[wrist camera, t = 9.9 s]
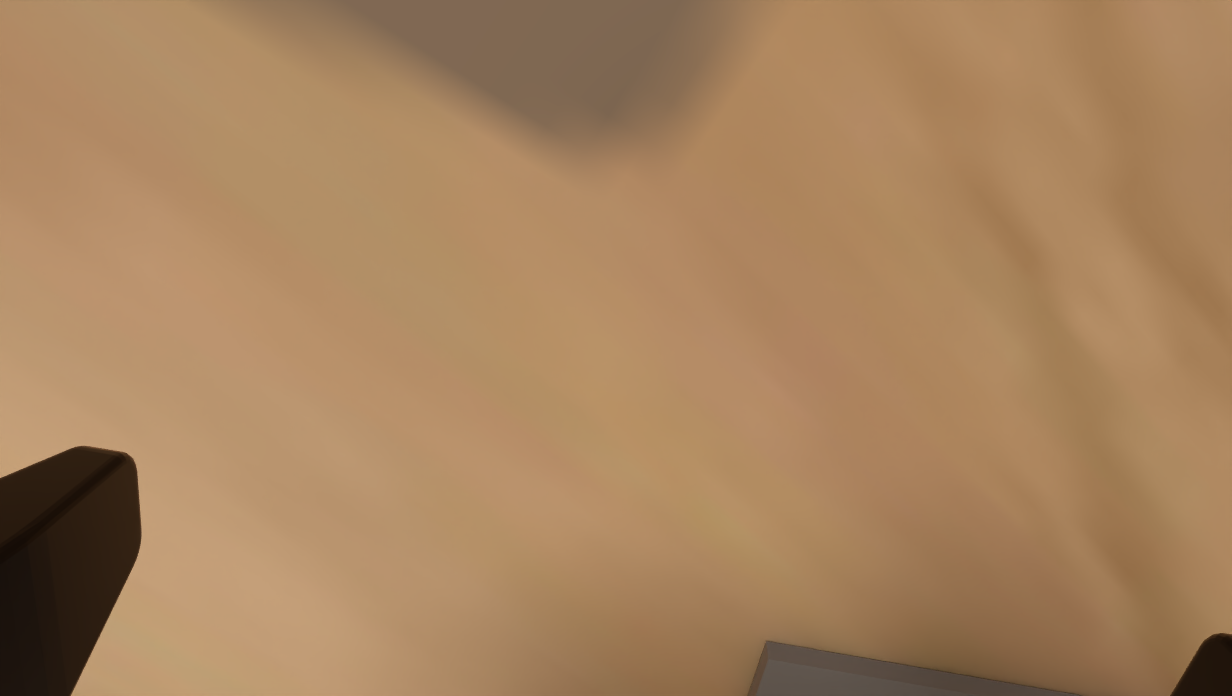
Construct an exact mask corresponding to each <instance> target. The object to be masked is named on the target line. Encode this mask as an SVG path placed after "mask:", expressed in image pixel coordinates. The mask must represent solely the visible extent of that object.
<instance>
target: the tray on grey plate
mask: <svg viewBox="0 0 1232 696" xmlns="http://www.w3.org/2000/svg"><path fill="white" fill-rule="evenodd" d="M748 696H1080V695H1075V694H1069V693H1063V692H1057V691H1052V690H1046V689H1040V688H1034V687H1029V686H1023V685H1017V684H1011V683H1005V682H1000V681H994V680H988V679H982V678H977V677H971V676H965V675H959V674H953V673H948V672H942V671H936V670H930V669H925V668H919V667H913V666H907V665H901V664H896V663H890V662H884V661H878V660H873V659H867V658H861V657H855V656H850V655H844V654H838V653H832V652H826V651H821V650H815V649H809V648H803V647H798V646H792V645H786V644H780V643H774V642H769V641H766V643H765V646H764V649H763V652H762V655H761V658H760V661H759V664H758V667H757V670H756V673H755V676H754V679H753V682H752V684H751V687H750V690H749V693H748Z"/></svg>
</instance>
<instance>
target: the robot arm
mask: <svg viewBox="0 0 1232 696" xmlns="http://www.w3.org/2000/svg"><path fill="white" fill-rule="evenodd" d="M140 544H141V517H140V504H139V490H138V476H137V468H136V464H135V462H134V460H133V458H132V457H131V456H130V455H128V454H127V453H124V452H120V451H114V450H108V449H102V448H96V447H90V446H78V447H74V448H71V449H69V450H66V451H64V452H62V453H59V454H57V455H54V456H52V457H50V458H47V459H45V460H42V461H40V462H38V463H35V464H33V465H31V466H28V467H26V468H23V469H21V470H19V471H16V472H14V473H11V474H9V475H7V476H4V477H2V478H0V696H71V694H72V692H73V690H74V688H75V686H76V684H77V682H78V680H79V678H80V676H81V673H82V671H83V669H84V667H85V665H86V663H87V661H88V659H89V657H90V655H91V653H92V651H93V649H94V647H95V645H96V642H97V640H98V638H99V636H100V634H101V632H102V630H103V628H104V626H105V624H106V622H107V620H108V618H109V616H110V614H111V611H112V609H113V607H114V605H115V603H116V601H117V599H118V597H119V595H120V593H121V591H122V589H123V587H124V585H125V583H126V580H127V578H128V576H129V574H130V572H131V570H132V568H133V566H134V564H135V561H136V559H137V556H138V553H139V549H140ZM1170 696H1232V634H1226V633H1219V634H1213V635H1212V636H1210V637H1209V638H1207V639H1206V640H1204V642H1203V643H1202V644H1201V646H1200V647H1199V649H1198V651H1197V652H1196V654H1195V656H1194V657H1193V659H1192V661H1191V662H1190V664H1189V666H1188V667H1187V669H1186V671H1185V672H1184V674H1183V676H1182V677H1181V679H1180V681H1179V682H1178V684H1177V685H1176V687H1175V689H1174V690H1173V692H1172V694H1171V695H1170Z"/></svg>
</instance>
